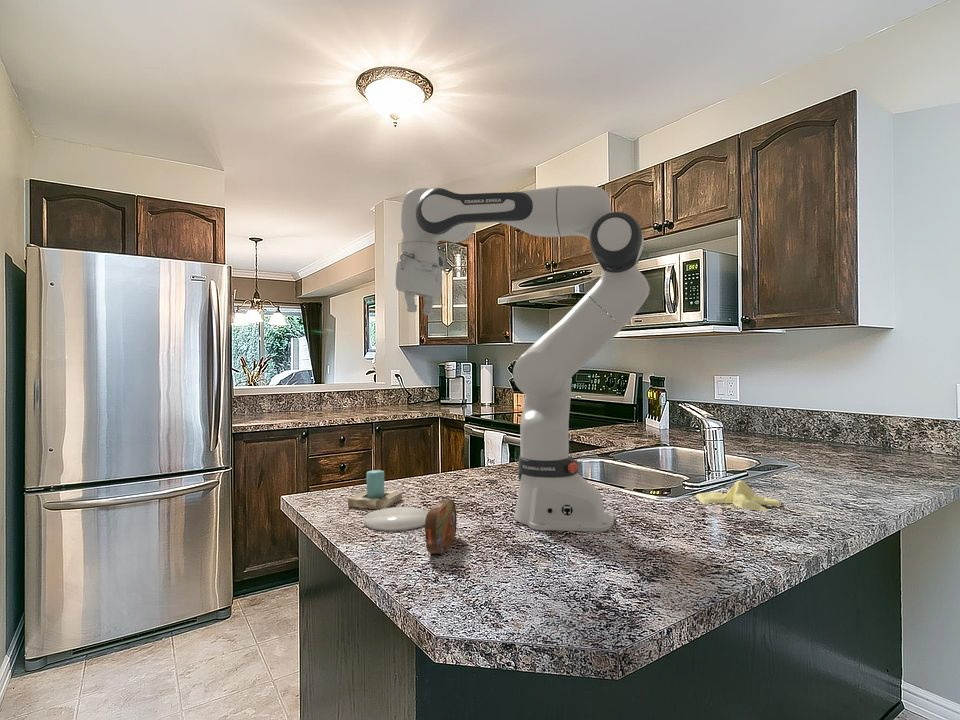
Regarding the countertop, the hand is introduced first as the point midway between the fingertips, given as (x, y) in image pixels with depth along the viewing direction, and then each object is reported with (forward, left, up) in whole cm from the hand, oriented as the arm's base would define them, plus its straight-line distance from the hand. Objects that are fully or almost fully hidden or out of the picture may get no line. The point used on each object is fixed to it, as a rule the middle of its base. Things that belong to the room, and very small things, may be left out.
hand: (420, 313), depth 136 cm
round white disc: (+1, +11, -48) cm, 49 cm away
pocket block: (+13, -1, -48) cm, 50 cm away
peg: (+13, -1, -48) cm, 50 cm away
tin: (-15, +24, -48) cm, 56 cm away
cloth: (-76, -26, -49) cm, 94 cm away
